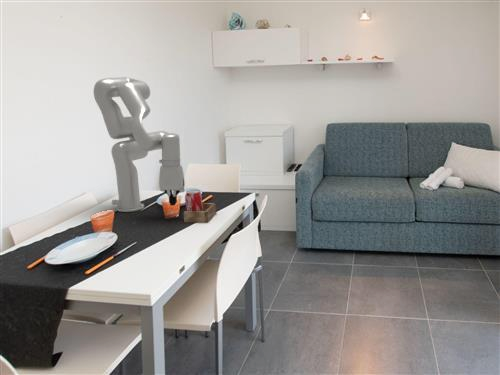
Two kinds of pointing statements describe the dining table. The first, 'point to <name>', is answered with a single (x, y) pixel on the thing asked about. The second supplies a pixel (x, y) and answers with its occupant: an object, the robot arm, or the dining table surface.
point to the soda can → (193, 200)
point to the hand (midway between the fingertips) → (173, 204)
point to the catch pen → (201, 214)
